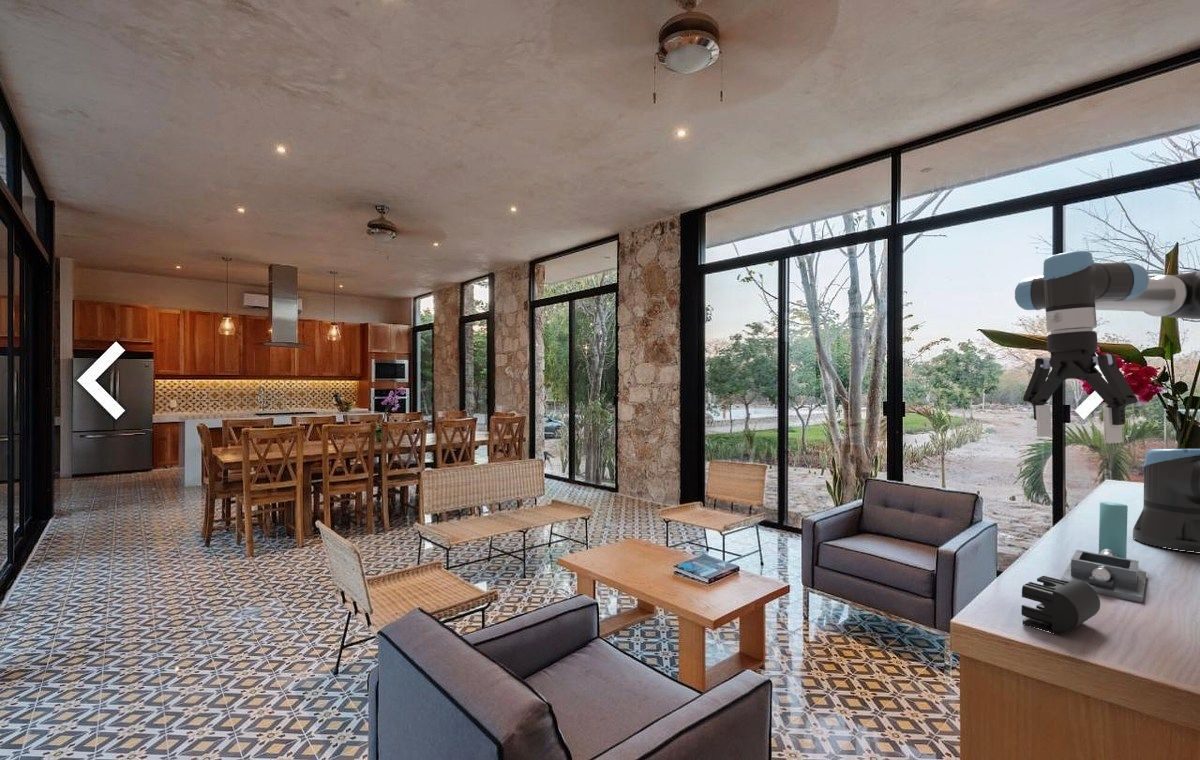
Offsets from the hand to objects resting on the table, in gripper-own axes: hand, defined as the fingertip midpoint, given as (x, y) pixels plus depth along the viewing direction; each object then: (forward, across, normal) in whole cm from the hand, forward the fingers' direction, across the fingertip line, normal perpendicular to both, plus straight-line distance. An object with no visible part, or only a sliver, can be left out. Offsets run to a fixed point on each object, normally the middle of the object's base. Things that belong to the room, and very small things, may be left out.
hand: (1077, 439), depth 108 cm
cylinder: (+28, -9, +17) cm, 34 cm away
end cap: (+26, +18, -27) cm, 42 cm away
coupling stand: (+27, +2, +2) cm, 27 cm away
